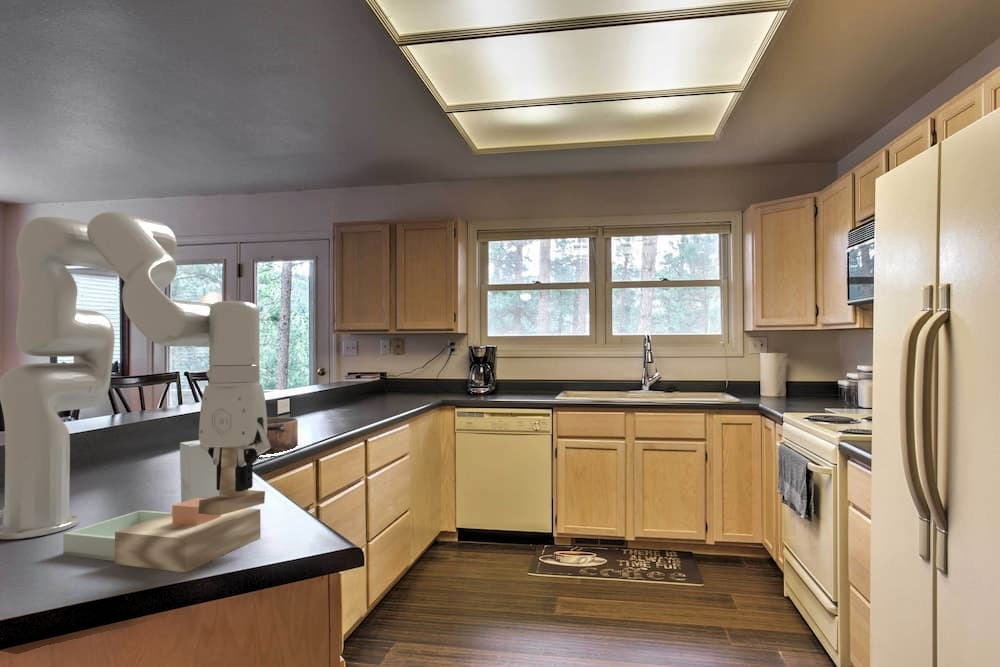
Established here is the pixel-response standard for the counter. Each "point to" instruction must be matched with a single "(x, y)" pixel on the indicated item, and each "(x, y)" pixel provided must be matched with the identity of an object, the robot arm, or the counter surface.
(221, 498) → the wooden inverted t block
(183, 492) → the skincare box
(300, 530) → the counter surface
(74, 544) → the box
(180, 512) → the salmon pink brick
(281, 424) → the cooking pot
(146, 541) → the birch block
